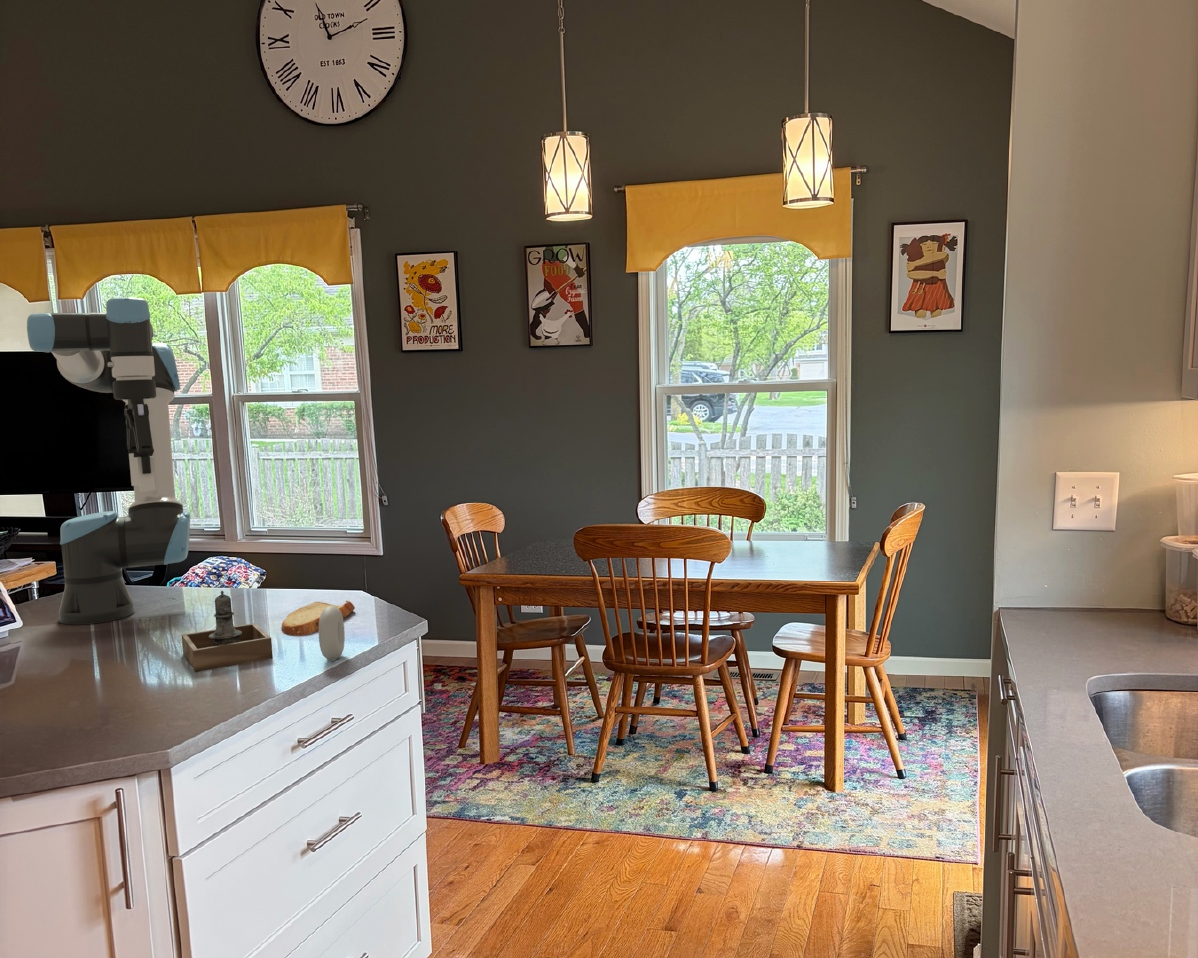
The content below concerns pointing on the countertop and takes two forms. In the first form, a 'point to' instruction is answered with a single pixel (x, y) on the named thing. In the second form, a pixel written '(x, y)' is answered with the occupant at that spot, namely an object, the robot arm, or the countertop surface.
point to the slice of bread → (310, 618)
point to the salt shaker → (224, 622)
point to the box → (226, 649)
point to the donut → (331, 633)
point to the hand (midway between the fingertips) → (143, 488)
